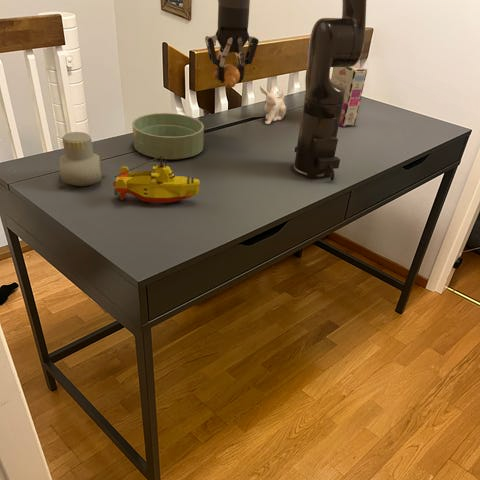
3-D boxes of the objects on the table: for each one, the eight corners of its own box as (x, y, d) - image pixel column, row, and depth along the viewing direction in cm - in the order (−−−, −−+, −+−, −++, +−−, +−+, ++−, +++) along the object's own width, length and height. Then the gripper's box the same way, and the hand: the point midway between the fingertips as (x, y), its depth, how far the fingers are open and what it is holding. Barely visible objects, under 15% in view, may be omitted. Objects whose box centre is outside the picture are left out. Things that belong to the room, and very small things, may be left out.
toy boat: (117, 192, 104) (112, 147, 97) (199, 195, 105) (200, 151, 99) (113, 206, 99) (107, 159, 92) (199, 209, 100) (200, 163, 94)
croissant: (230, 78, 129) (231, 60, 126) (245, 89, 121) (246, 70, 118) (212, 78, 127) (212, 60, 124) (226, 89, 119) (227, 70, 116)
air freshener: (101, 191, 103) (96, 146, 97) (62, 192, 102) (53, 146, 95) (102, 170, 111) (97, 127, 105) (65, 171, 110) (57, 127, 103)
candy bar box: (355, 126, 150) (368, 69, 140) (342, 127, 149) (354, 70, 138) (336, 114, 158) (346, 60, 147) (323, 115, 156) (333, 60, 145)
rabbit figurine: (267, 124, 145) (271, 91, 139) (249, 118, 149) (252, 85, 142) (290, 117, 152) (295, 85, 146) (272, 111, 156) (276, 79, 150)
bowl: (212, 158, 122) (213, 135, 118) (141, 164, 116) (140, 139, 112) (192, 133, 134) (192, 111, 131) (127, 137, 129) (125, 114, 125)
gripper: (210, 5, 108) (208, 86, 119) (267, 7, 113) (260, 85, 124) (200, 1, 113) (199, 78, 124) (255, 2, 118) (249, 77, 129)
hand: (230, 81), depth 124 cm, fingers closed on croissant, 4 cm apart
